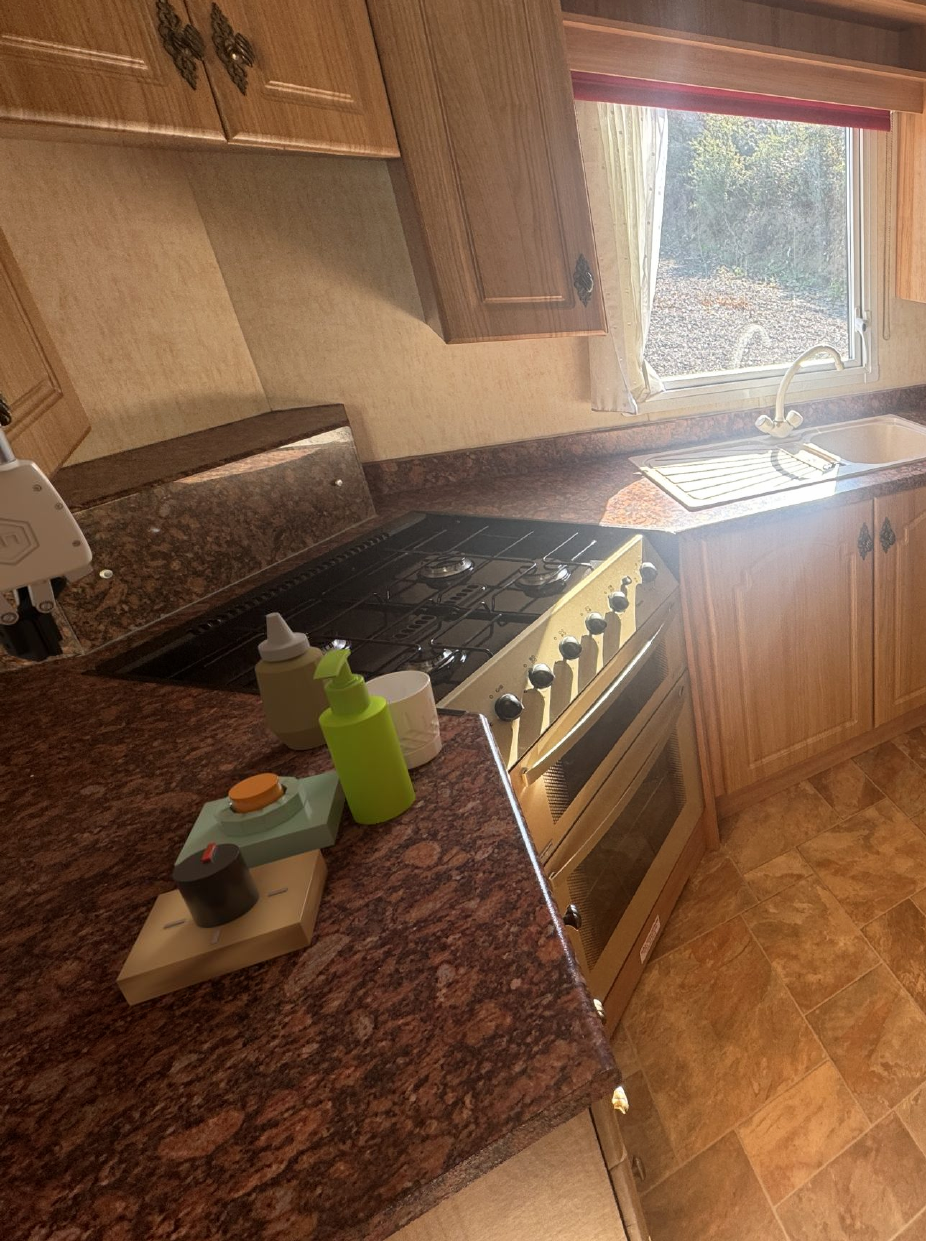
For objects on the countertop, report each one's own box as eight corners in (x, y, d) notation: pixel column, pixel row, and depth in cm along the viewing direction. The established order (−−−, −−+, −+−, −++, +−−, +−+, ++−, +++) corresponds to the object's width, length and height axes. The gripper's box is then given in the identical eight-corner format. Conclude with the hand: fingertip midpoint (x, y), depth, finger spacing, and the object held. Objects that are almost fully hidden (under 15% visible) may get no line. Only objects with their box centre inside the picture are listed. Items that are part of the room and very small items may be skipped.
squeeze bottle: (364, 714, 99) (325, 596, 92) (341, 750, 92) (297, 625, 85) (293, 725, 96) (248, 604, 90) (264, 762, 89) (213, 634, 83)
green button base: (184, 888, 72) (165, 849, 70) (214, 824, 80) (198, 787, 78) (334, 844, 77) (320, 807, 75) (348, 789, 85) (336, 754, 83)
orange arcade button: (230, 819, 74) (223, 803, 73) (240, 795, 77) (234, 780, 77) (279, 806, 76) (273, 790, 75) (287, 783, 79) (282, 768, 78)
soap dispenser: (344, 837, 78) (286, 679, 71) (360, 796, 84) (308, 646, 77) (408, 822, 80) (358, 667, 73) (419, 783, 86) (374, 636, 79)
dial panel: (129, 1006, 60) (114, 980, 59) (170, 918, 68) (158, 893, 67) (309, 945, 66) (299, 920, 65) (328, 870, 74) (319, 846, 73)
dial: (254, 914, 65) (232, 865, 63) (188, 936, 63) (163, 886, 61) (263, 881, 69) (243, 834, 67) (202, 900, 67) (179, 852, 64)
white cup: (431, 772, 88) (411, 703, 84) (360, 778, 87) (336, 708, 83) (458, 733, 95) (440, 668, 92) (393, 738, 94) (372, 672, 90)
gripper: (-187, 486, 50) (-57, 709, 57) (92, 439, 63) (170, 624, 70) (-248, 476, 52) (-115, 693, 59) (36, 433, 65) (117, 614, 72)
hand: (40, 655), depth 64 cm, fingers closed
